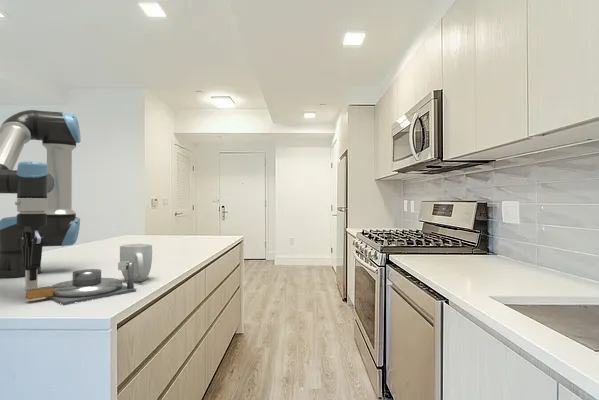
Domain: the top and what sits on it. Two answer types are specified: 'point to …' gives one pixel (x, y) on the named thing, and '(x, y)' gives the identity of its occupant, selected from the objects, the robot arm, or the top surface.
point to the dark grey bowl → (86, 277)
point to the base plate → (84, 298)
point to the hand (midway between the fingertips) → (31, 290)
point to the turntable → (74, 289)
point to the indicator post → (128, 272)
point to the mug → (137, 259)
